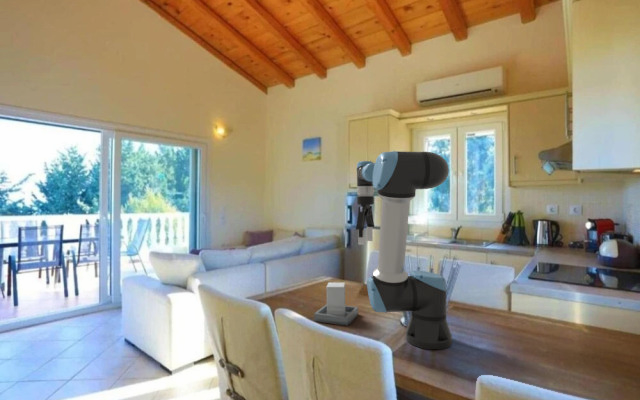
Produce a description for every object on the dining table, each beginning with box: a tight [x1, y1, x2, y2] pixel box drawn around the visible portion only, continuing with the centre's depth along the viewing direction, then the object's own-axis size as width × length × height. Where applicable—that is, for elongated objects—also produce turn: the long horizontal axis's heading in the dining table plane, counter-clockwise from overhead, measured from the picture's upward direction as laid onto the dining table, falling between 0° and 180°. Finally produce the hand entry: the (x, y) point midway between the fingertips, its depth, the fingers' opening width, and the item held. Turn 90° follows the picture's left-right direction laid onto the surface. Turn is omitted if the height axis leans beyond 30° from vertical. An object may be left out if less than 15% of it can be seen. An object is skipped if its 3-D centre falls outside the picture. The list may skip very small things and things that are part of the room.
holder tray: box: [313, 303, 359, 327], centre depth 141 cm, size 14×14×3 cm
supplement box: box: [326, 282, 346, 317], centre depth 141 cm, size 7×7×13 cm
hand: (365, 242), depth 156 cm, fingers open, 13 cm apart
